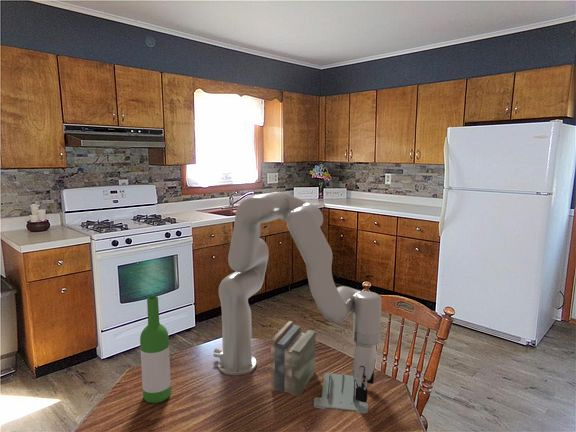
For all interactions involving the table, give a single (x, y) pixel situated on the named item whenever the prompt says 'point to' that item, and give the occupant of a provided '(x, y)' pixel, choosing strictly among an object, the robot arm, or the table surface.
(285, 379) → the book row
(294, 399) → the table surface
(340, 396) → the metal bracket
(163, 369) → the wine bottle
